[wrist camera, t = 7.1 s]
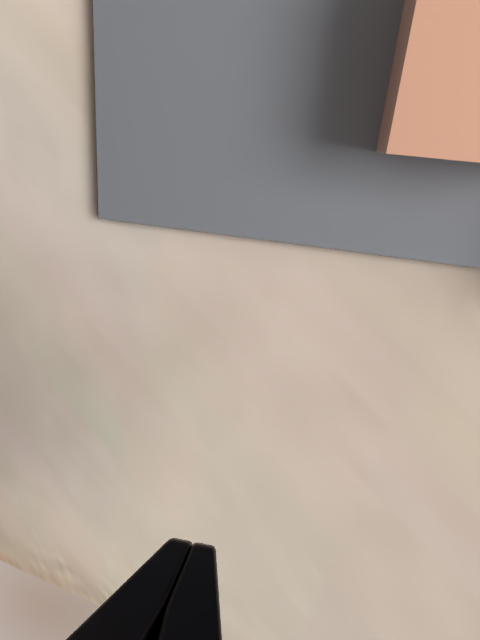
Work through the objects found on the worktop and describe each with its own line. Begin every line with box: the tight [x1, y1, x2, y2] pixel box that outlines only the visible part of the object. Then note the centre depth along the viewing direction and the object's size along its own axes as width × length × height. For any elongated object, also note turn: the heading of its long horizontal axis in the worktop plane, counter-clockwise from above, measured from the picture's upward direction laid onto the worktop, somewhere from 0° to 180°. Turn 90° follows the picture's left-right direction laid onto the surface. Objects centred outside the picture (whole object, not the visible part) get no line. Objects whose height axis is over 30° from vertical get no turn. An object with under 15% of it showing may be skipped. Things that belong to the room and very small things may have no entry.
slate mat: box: [93, 0, 480, 268], centre depth 13 cm, size 18×12×3 cm, turn 85°
